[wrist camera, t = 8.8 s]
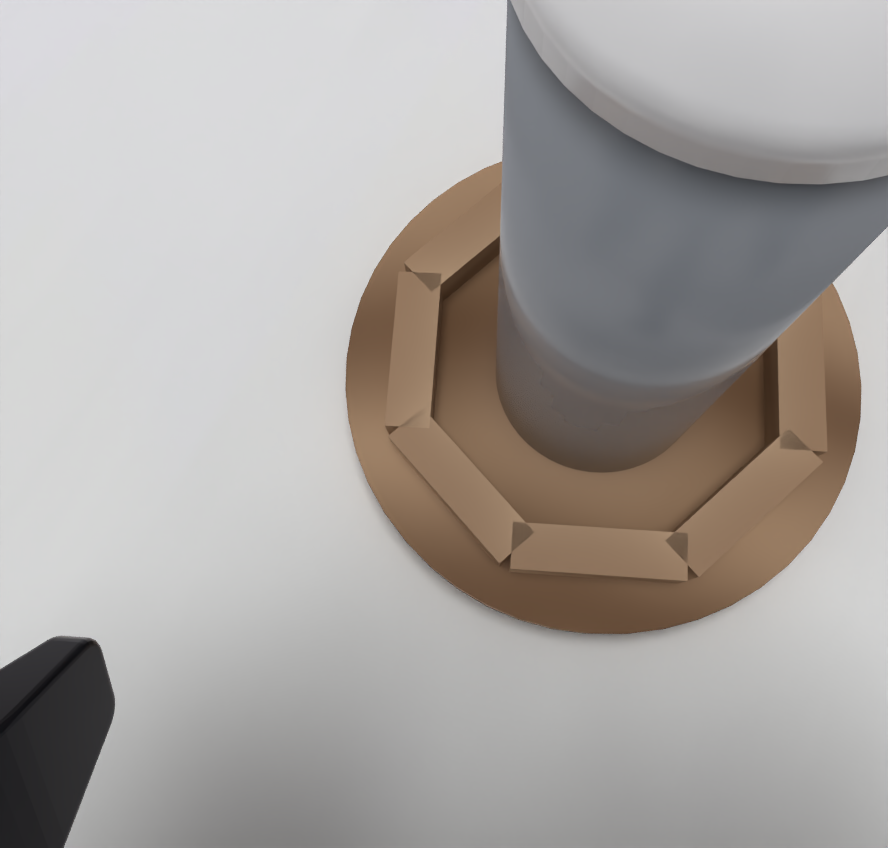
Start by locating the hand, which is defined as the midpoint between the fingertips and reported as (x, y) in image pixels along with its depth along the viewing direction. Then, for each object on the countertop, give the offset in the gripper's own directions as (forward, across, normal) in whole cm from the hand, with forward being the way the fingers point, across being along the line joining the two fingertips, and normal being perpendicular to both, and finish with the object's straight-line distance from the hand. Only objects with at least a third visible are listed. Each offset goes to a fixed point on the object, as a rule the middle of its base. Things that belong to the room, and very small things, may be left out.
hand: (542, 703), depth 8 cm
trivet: (+13, -1, +3) cm, 14 cm away
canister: (+12, -1, +2) cm, 13 cm away
